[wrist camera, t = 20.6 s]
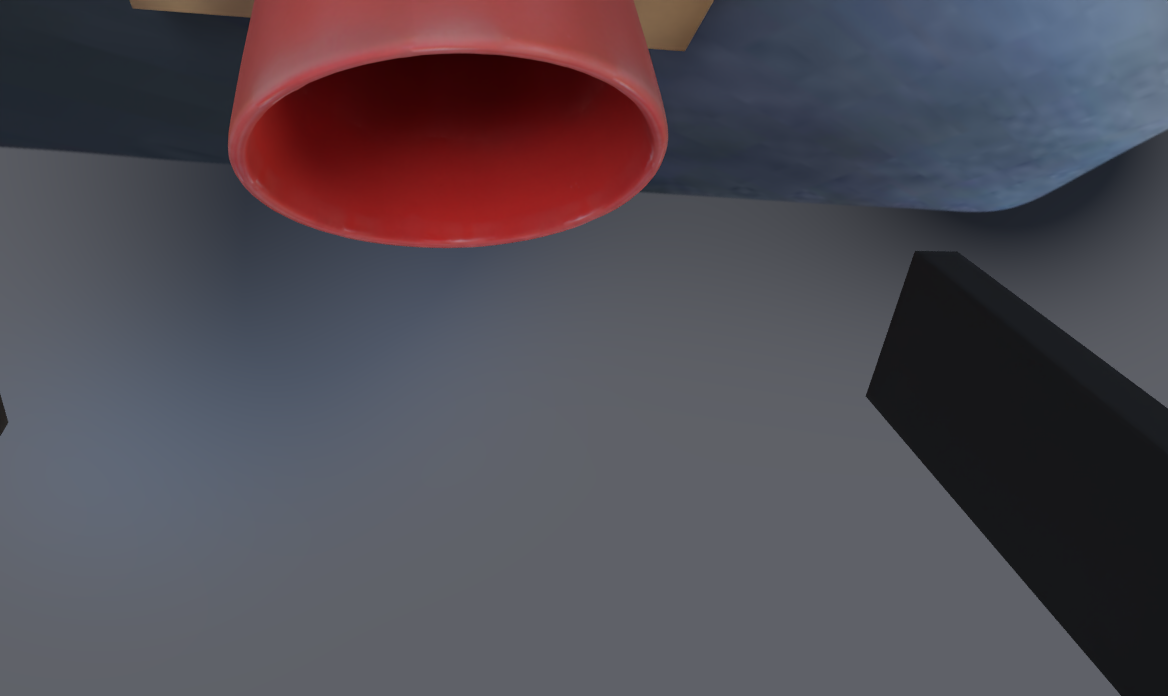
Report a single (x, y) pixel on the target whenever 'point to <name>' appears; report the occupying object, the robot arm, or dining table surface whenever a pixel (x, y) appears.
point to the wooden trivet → (663, 3)
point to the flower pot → (446, 116)
